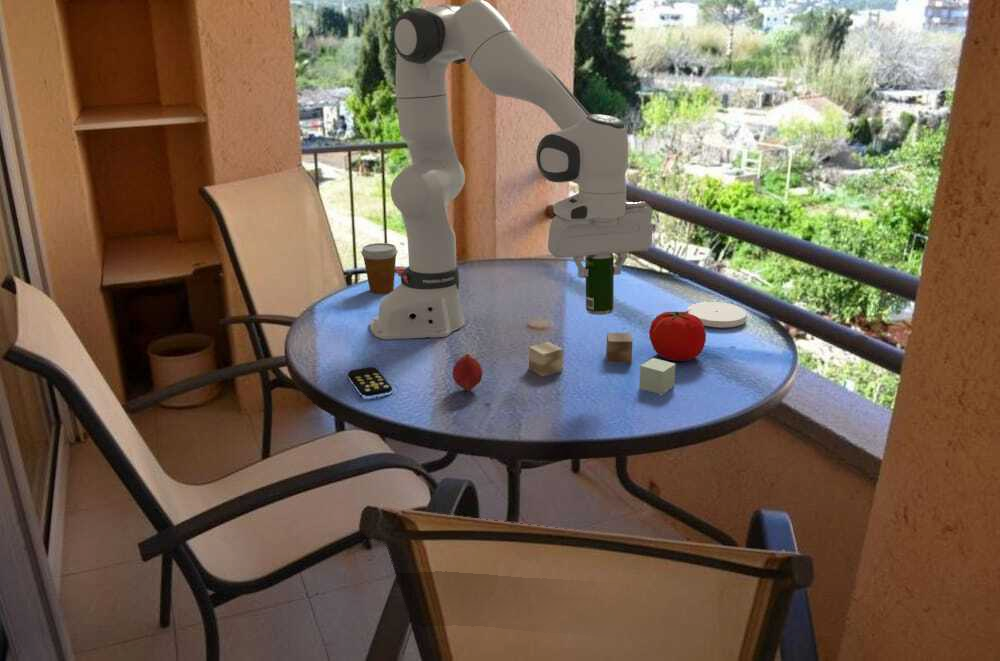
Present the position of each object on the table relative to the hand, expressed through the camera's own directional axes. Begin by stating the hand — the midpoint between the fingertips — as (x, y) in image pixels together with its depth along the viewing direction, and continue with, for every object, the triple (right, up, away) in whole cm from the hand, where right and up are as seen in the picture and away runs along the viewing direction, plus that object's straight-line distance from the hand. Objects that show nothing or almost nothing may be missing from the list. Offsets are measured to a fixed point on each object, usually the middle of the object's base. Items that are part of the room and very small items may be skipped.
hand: (599, 275), depth 162 cm
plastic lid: (+33, -9, +40) cm, 53 cm away
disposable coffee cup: (-51, 0, +64) cm, 82 cm away
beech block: (-10, -19, +13) cm, 25 cm away
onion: (-26, -23, +4) cm, 34 cm away
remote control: (-45, -22, +6) cm, 51 cm away
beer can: (0, -7, +2) cm, 7 cm away
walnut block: (+6, -17, +18) cm, 26 cm away
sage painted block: (+12, -22, +4) cm, 25 cm away
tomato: (+19, -16, +19) cm, 31 cm away
